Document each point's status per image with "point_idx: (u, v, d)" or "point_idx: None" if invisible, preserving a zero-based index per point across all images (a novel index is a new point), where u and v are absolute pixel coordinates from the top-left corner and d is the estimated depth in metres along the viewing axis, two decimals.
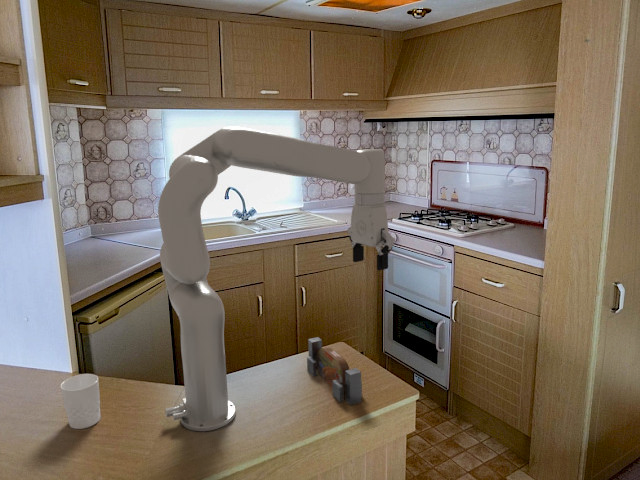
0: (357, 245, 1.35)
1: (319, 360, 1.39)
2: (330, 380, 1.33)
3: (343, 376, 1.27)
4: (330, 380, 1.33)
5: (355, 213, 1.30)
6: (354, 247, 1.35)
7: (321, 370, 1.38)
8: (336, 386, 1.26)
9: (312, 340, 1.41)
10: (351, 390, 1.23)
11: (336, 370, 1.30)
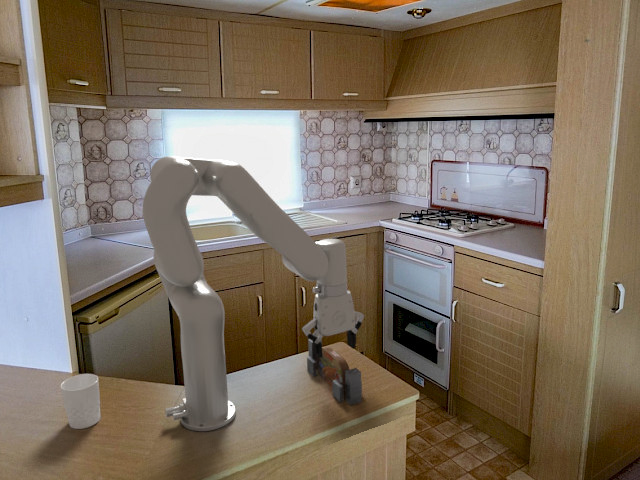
0: None
1: (319, 360, 1.39)
2: (330, 380, 1.33)
3: (343, 376, 1.27)
4: (330, 381, 1.33)
5: (329, 306, 1.26)
6: (319, 343, 1.29)
7: (321, 370, 1.38)
8: (336, 386, 1.26)
9: None
10: (351, 390, 1.23)
11: (336, 370, 1.30)
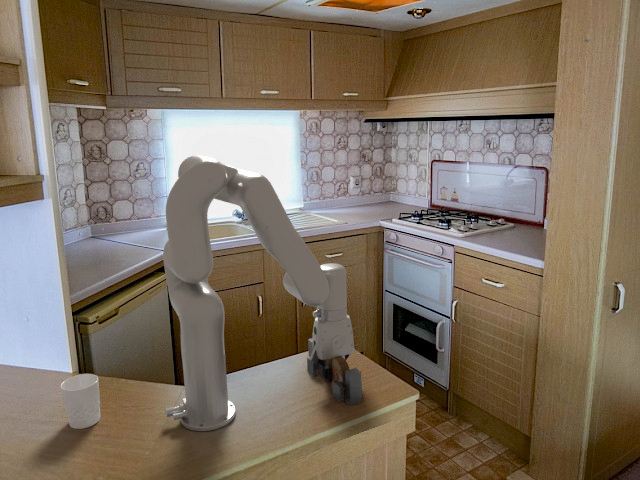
0: None
1: None
2: None
3: (343, 376, 1.27)
4: None
5: (328, 331, 1.27)
6: None
7: (321, 370, 1.38)
8: (336, 386, 1.26)
9: None
10: (351, 390, 1.23)
11: (336, 370, 1.30)
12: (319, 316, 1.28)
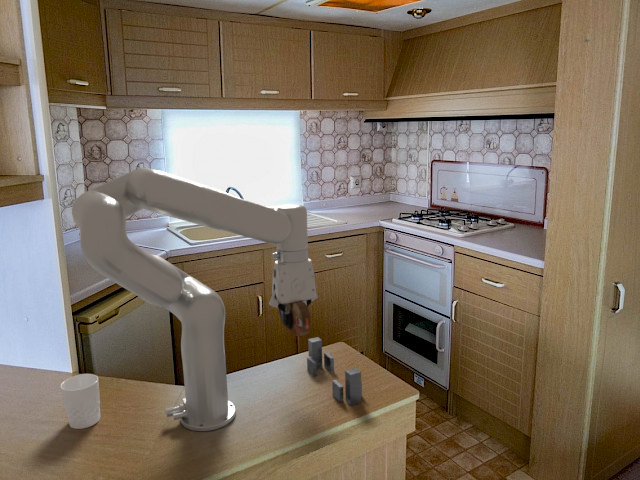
0: None
1: None
2: (292, 327, 1.29)
3: (303, 319, 1.22)
4: None
5: (288, 273, 1.23)
6: None
7: None
8: (336, 386, 1.26)
9: (312, 340, 1.41)
10: (351, 390, 1.23)
11: (296, 314, 1.25)
12: (278, 258, 1.23)
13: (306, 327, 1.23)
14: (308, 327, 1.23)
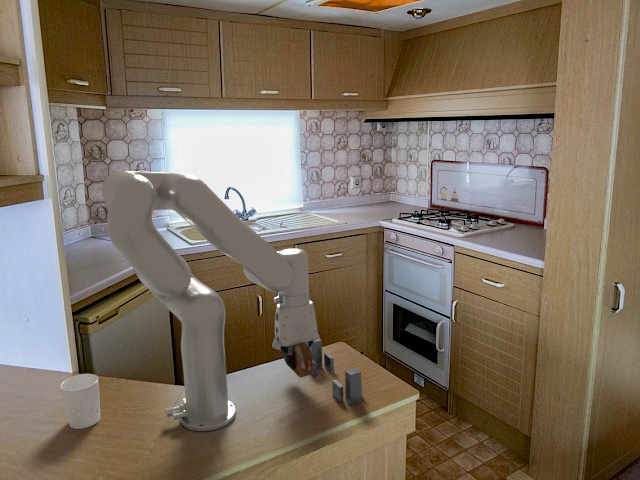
0: None
1: None
2: (295, 367, 1.31)
3: (305, 362, 1.24)
4: None
5: (290, 317, 1.25)
6: None
7: None
8: (336, 386, 1.26)
9: None
10: (351, 390, 1.23)
11: (299, 356, 1.28)
12: (280, 302, 1.25)
13: (309, 369, 1.25)
14: (310, 369, 1.26)
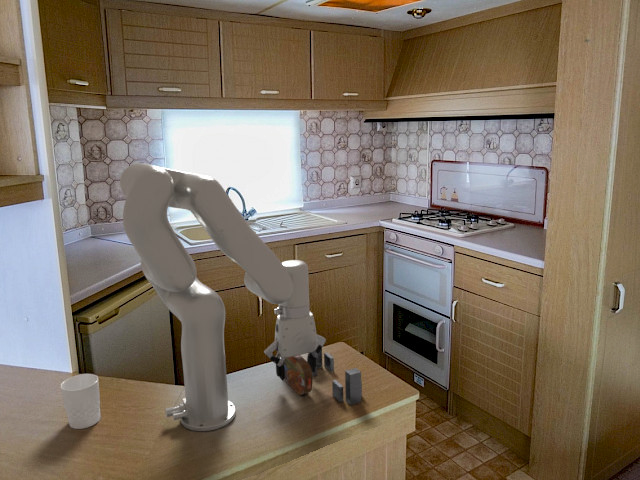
0: None
1: (284, 363, 1.38)
2: (294, 384, 1.32)
3: (305, 379, 1.25)
4: (294, 384, 1.32)
5: (290, 328, 1.26)
6: (282, 365, 1.29)
7: (285, 373, 1.37)
8: (336, 386, 1.26)
9: None
10: (351, 390, 1.23)
11: (299, 373, 1.29)
12: (281, 313, 1.26)
13: (308, 387, 1.26)
14: (310, 387, 1.26)
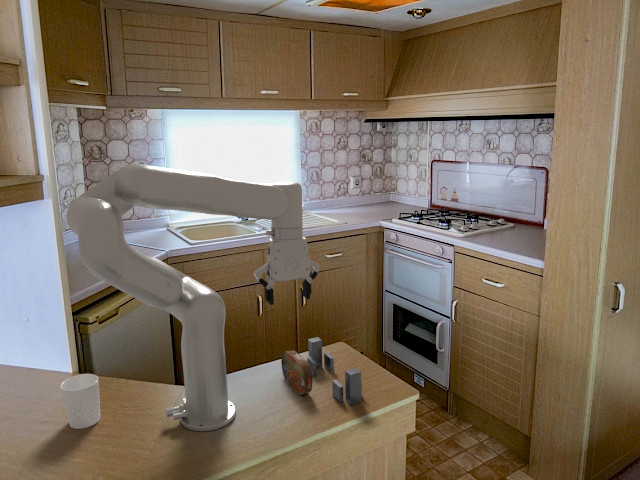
0: None
1: (284, 363, 1.38)
2: (294, 384, 1.32)
3: (305, 379, 1.25)
4: (294, 384, 1.32)
5: (282, 250, 1.22)
6: (271, 289, 1.24)
7: (285, 373, 1.37)
8: (336, 386, 1.26)
9: (312, 340, 1.41)
10: (351, 390, 1.23)
11: (299, 373, 1.29)
12: (273, 235, 1.22)
13: (308, 387, 1.26)
14: (310, 387, 1.26)
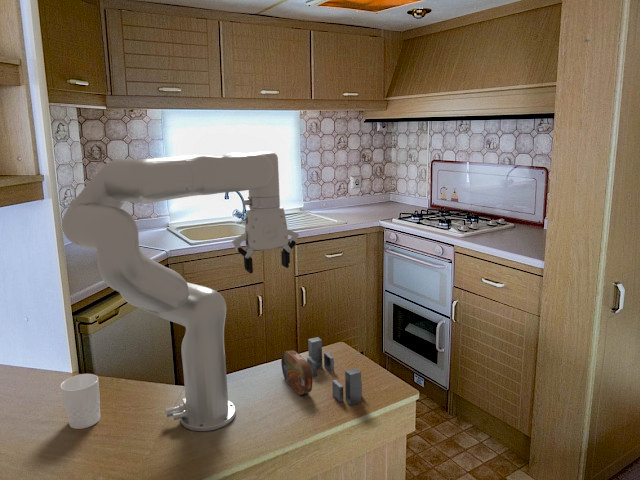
0: None
1: (284, 363, 1.38)
2: (294, 384, 1.32)
3: (305, 379, 1.25)
4: (294, 384, 1.32)
5: (259, 219, 1.24)
6: (250, 257, 1.27)
7: (285, 373, 1.37)
8: (336, 386, 1.26)
9: (312, 340, 1.41)
10: (351, 390, 1.23)
11: (299, 373, 1.29)
12: (250, 204, 1.25)
13: (308, 387, 1.26)
14: (310, 387, 1.26)
